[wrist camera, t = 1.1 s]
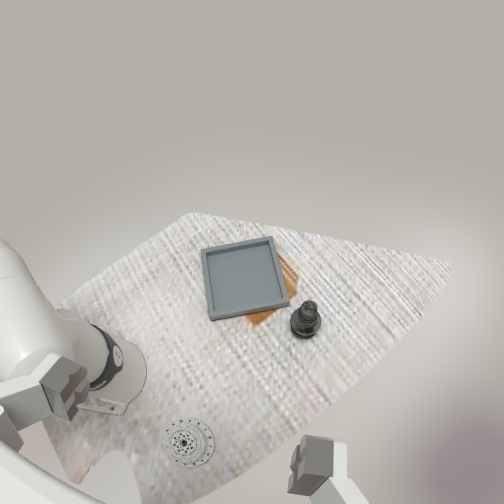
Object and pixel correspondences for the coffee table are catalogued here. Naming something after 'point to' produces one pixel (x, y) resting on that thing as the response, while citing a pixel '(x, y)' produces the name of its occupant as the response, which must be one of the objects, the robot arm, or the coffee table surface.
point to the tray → (243, 278)
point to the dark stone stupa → (305, 320)
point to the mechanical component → (188, 442)
